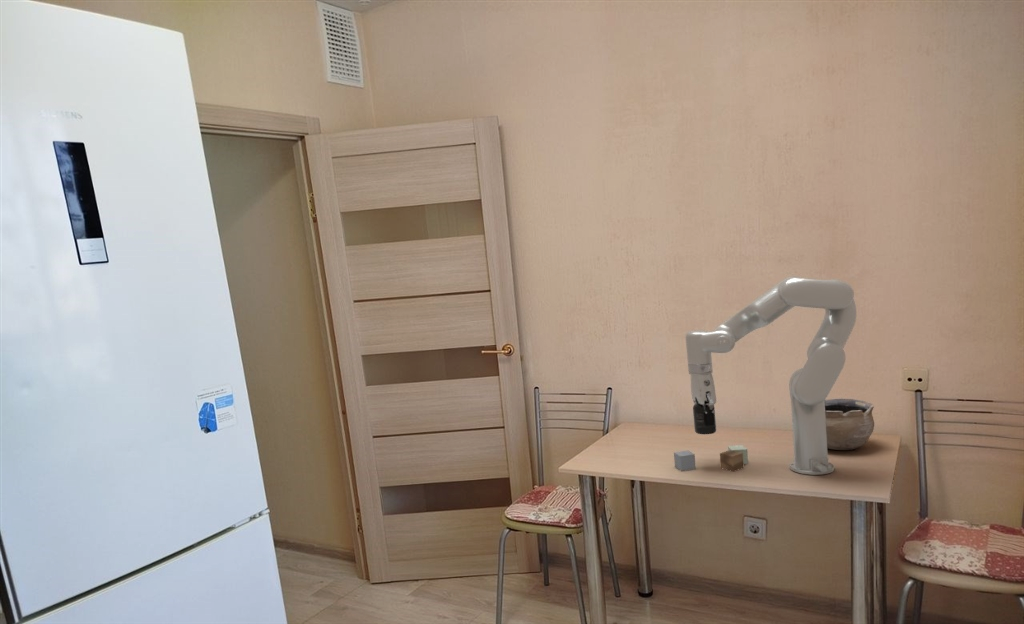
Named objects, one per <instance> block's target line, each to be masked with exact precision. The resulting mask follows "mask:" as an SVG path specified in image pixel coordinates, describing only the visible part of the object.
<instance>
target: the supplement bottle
mask: <svg viewBox="0 0 1024 624" xmlns="http://www.w3.org/2000/svg"><path fill="white" fill-rule="evenodd" d="M695 402H696V404H695V405H694V404H693V406H692V412H693V413H692V414H693V415H692V417H693V425H694V426H693V427H694V432H695V433H696V434H698V435H712V434H715V433H717V421H716V412H715V407H714V409H713V410H714V425H710V426H705V425H704V417H703V413H704V409H703V405H701V404H699V403H698V401H697V398H696V397H695ZM704 403H705V404H706V403H708V402H704ZM706 409H707V406H706Z"/></svg>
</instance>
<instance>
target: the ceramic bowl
mask: <svg viewBox="0 0 1024 624" xmlns="http://www.w3.org/2000/svg"><path fill="white" fill-rule="evenodd" d="M824 403H825V414H826V434H827V449H829V450H835V451H851V450H856V449H859V448H860V447H862V446H863V445H864V444H866V443H867V441H868V440H869V439H870V437H871V436H872V434H873V432H874V429H875V420H874V416H873V413H872V412H873V410H874V408H875V405H874V404H873V403H871V402H867V401H864V400H858V399H853V398H830V399H825V400H824Z"/></svg>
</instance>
